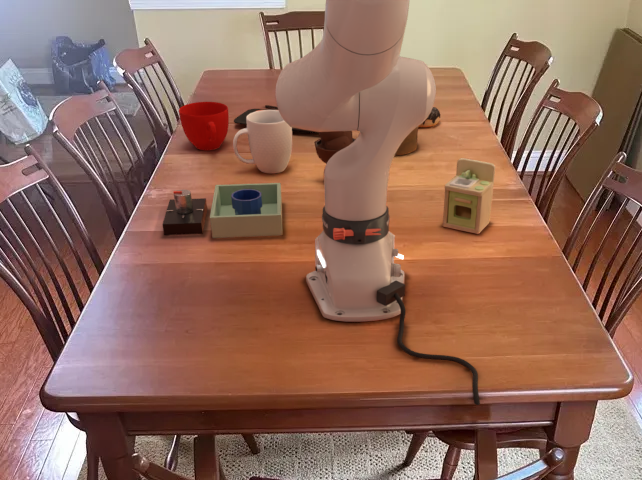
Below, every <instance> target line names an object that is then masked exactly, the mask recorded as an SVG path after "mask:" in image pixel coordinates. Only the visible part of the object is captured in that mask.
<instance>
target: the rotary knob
mask: <svg viewBox="0 0 642 480" xmlns="http://www.w3.org/2000/svg"><path fill="white" fill-rule="evenodd" d="M172 193H173V199H174V200H175V206H176V211H177V213H180V214H187V213H191V212H192V211H193V204H192V199H193V197H192V192H191V191H190V190H189V189H177V190H174V191H173V192H172Z"/></svg>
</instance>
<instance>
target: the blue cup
mask: <svg viewBox="0 0 642 480" xmlns="http://www.w3.org/2000/svg"><path fill="white" fill-rule="evenodd" d="M231 199H232V208H233V209H235V215H253V214H261V207H262V193H261V192H259V191H258V190H254V189H242V190H238V191H235V192H234V193H232V195H231Z"/></svg>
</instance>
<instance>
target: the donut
mask: <svg viewBox="0 0 642 480" xmlns="http://www.w3.org/2000/svg"><path fill="white" fill-rule="evenodd" d="M440 118H441V112H440V110H439V109H438V108H437V107H435V106H433V109H432V111H431V113H430V114H429V116H428V117H427V119H426V120H425V121H424V122H423V123H422V124H420V125H419V126H418V128H431V127H434V126H436V125H437V124H438V123H439V122H440V120H441V119H440Z"/></svg>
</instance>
